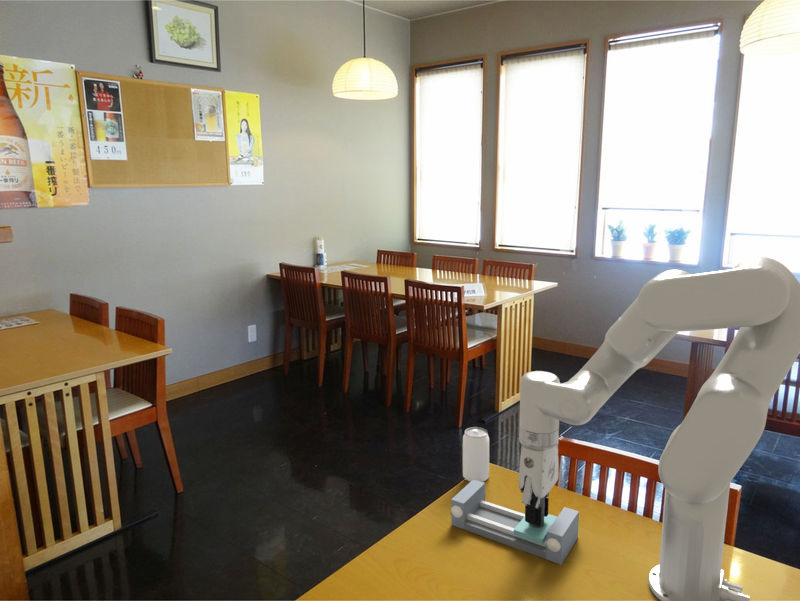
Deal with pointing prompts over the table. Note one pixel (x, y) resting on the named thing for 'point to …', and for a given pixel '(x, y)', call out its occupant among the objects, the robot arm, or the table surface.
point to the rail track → (511, 524)
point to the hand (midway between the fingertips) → (536, 517)
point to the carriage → (535, 526)
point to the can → (476, 454)
